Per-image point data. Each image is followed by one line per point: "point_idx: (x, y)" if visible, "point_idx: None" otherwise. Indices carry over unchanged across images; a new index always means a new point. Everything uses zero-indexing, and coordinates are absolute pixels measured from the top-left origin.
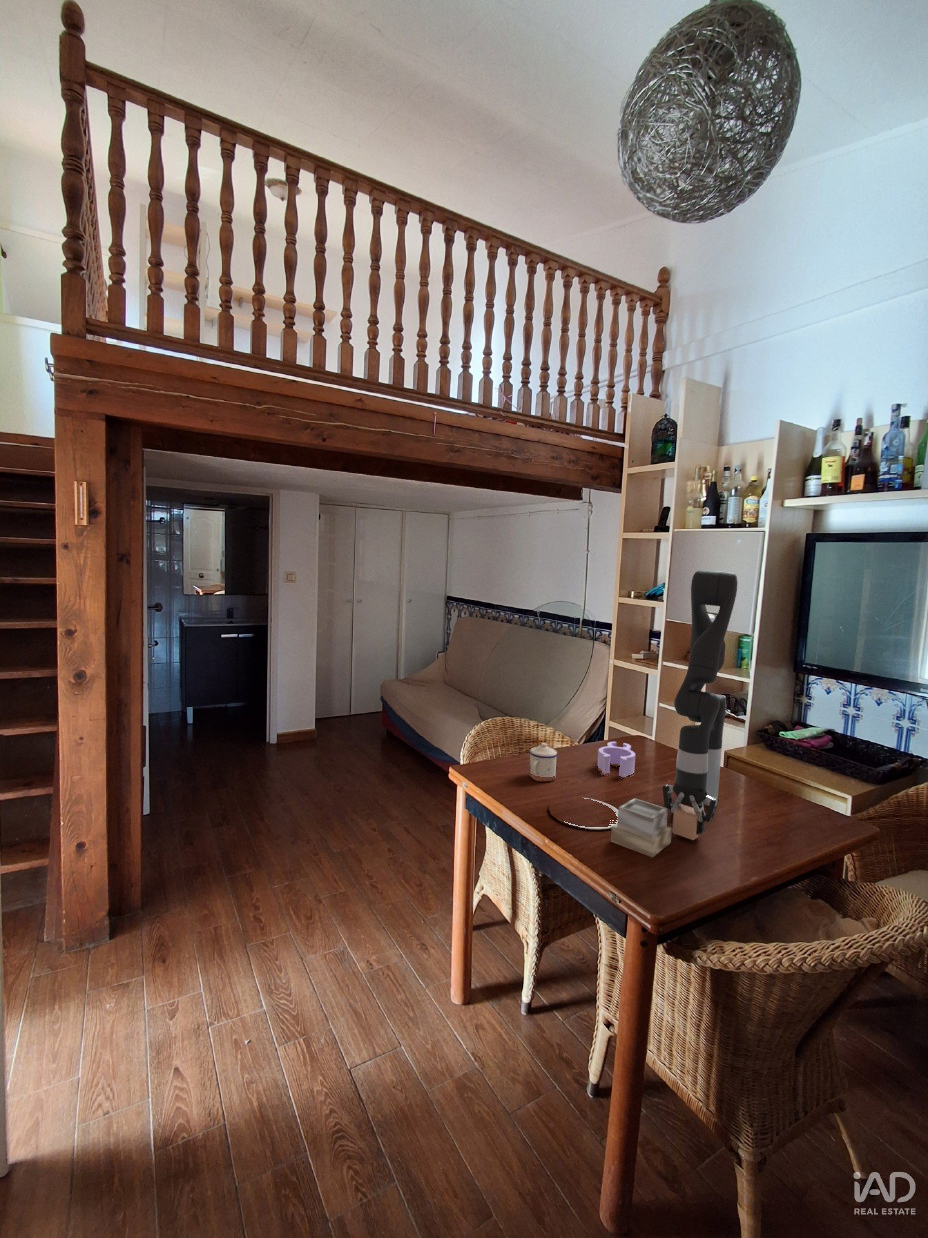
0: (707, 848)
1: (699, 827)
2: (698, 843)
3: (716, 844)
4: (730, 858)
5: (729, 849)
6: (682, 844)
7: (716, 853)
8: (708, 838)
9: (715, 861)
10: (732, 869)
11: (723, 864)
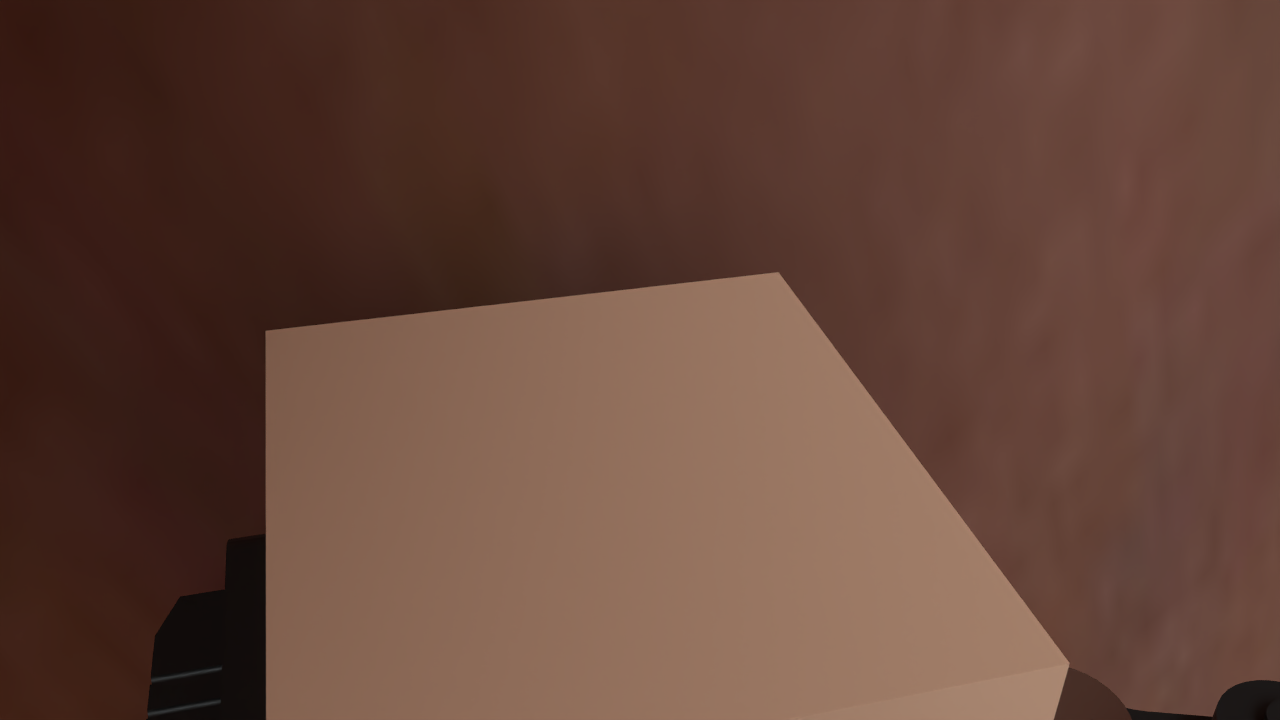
0: (928, 465)
1: None
2: None
3: (1029, 202)
4: (1254, 464)
5: (1241, 199)
6: None
7: (1069, 494)
8: (852, 71)
9: None
10: (1272, 677)
11: (1176, 666)
